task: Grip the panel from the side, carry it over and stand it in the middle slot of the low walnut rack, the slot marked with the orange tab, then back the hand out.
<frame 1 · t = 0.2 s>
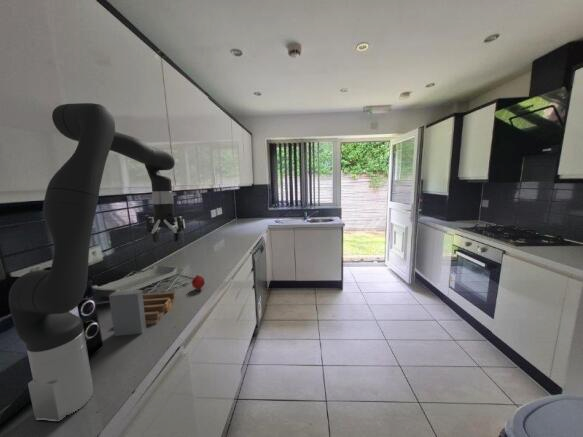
hand: (166, 241, 95), 29 cm above the worktop, tool pointing down, fingers open, 8 cm apart
panel: (130, 332, 82), on the worktop
rack: (149, 310, 96), on the worktop
onion: (198, 289, 114), on the worktop
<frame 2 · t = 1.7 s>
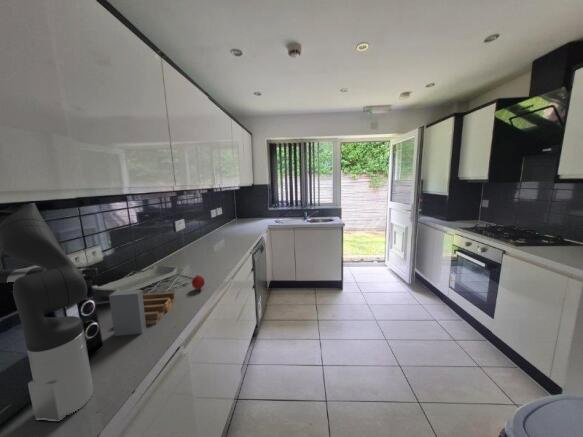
hand: (88, 276, 77), 22 cm above the worktop, tool horizontal, fingers open, 8 cm apart
nothing on the worktop moved.
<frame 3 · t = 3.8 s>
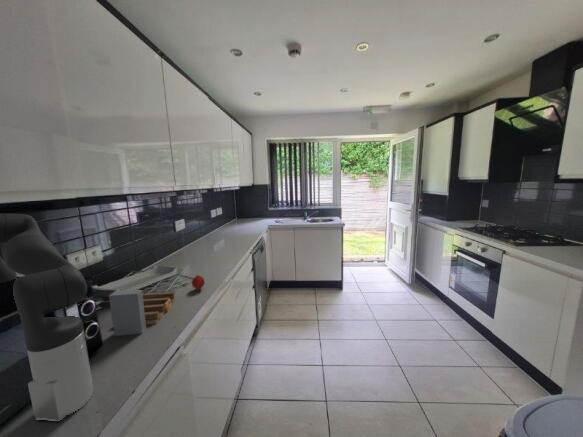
hand: (105, 310, 80), 9 cm above the worktop, tool horizontal, fingers open, 8 cm apart
nothing on the worktop moved.
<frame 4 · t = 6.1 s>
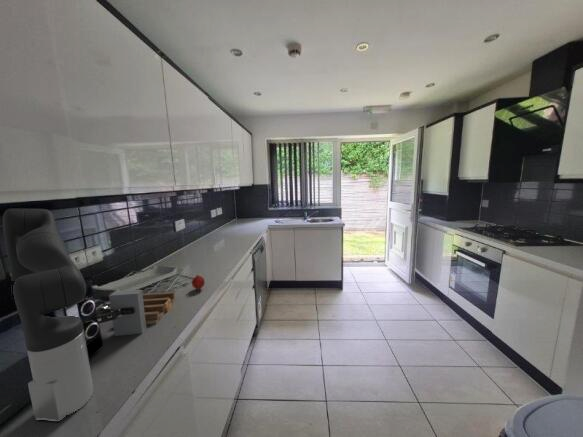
hand: (136, 307, 81), 9 cm above the worktop, tool horizontal, fingers closed on panel, 3 cm apart
panel: (130, 331, 82), on the worktop, touching gripper
everything else where it was.
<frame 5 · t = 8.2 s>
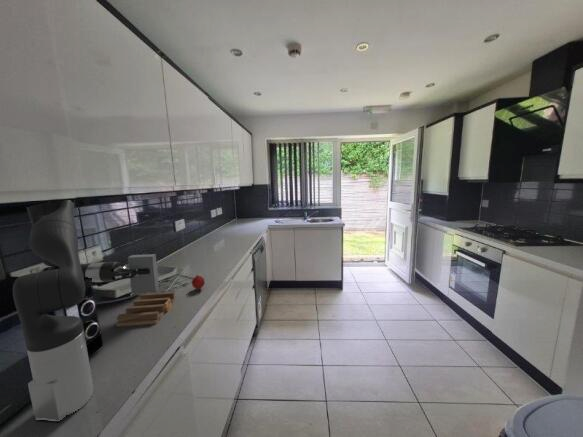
hand: (151, 269, 93), 18 cm above the worktop, tool horizontal, fingers closed on panel, 3 cm apart
panel: (145, 291, 94), point 9 cm above the worktop, touching gripper
everything else where it was.
when the fingers open (11 cm above the worktop, at t = 10.3 s): panel stays where it is, resting on rack.
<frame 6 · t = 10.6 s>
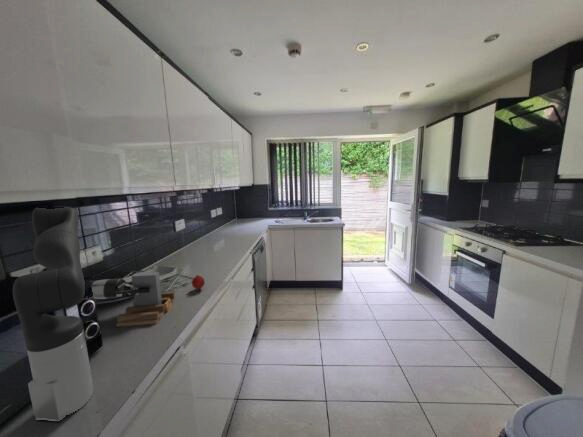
hand: (153, 285, 94), 11 cm above the worktop, tool horizontal, fingers open, 6 cm apart
panel: (149, 308, 95), point 1 cm above the worktop, touching rack
everything else where it was.
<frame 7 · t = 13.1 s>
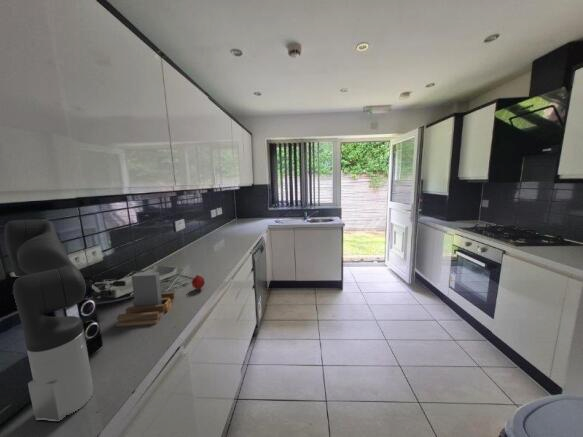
hand: (119, 287, 93), 11 cm above the worktop, tool horizontal, fingers open, 8 cm apart
nothing on the worktop moved.
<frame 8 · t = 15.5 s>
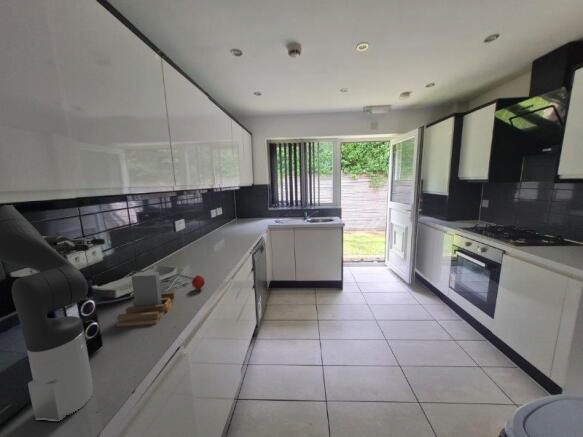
hand: (96, 244, 87), 30 cm above the worktop, tool horizontal, fingers open, 8 cm apart
nothing on the worktop moved.
at the end: panel 0.0 cm off-centre on the rack, point 1.0 cm above the rack's base; panel tilted 0°; the gripper is holding nothing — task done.
